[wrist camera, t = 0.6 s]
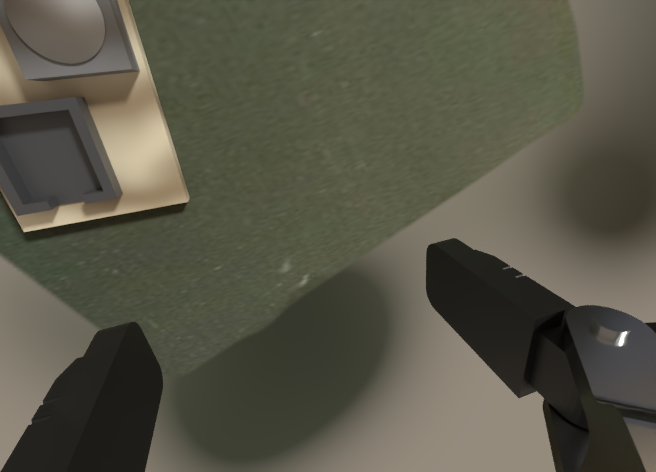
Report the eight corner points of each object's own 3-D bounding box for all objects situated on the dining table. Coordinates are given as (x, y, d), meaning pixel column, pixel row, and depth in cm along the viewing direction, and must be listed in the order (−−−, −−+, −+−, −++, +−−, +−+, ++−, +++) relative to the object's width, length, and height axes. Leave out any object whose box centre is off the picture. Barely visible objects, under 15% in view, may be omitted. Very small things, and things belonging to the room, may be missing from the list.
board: (-118, -48, 21) (-191, -78, 18) (111, -54, 24) (90, -81, 20) (33, 226, 30) (5, 244, 26) (189, 197, 33) (184, 210, 29)
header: (-27, 109, 24) (-43, 110, 23) (84, 97, 26) (75, 96, 24) (28, 209, 28) (17, 216, 26) (123, 193, 29) (117, 198, 28)
